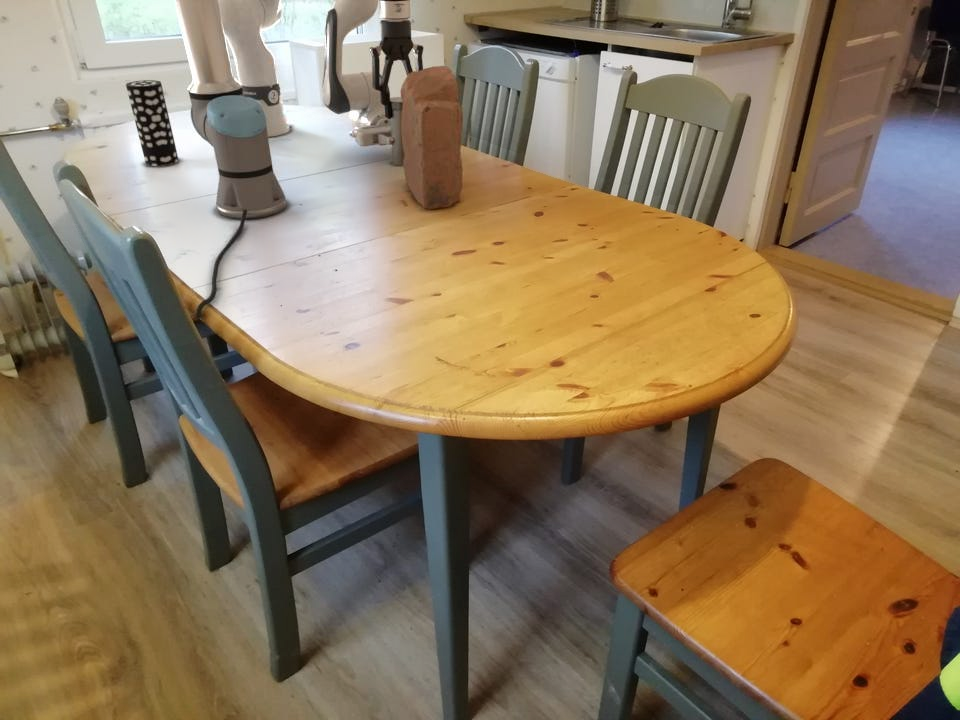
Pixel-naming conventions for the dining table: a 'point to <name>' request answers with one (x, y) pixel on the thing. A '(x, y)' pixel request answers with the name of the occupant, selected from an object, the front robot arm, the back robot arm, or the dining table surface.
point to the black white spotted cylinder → (152, 122)
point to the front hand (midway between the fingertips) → (400, 116)
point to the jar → (397, 137)
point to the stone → (432, 136)
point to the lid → (396, 103)
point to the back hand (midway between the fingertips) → (402, 139)
